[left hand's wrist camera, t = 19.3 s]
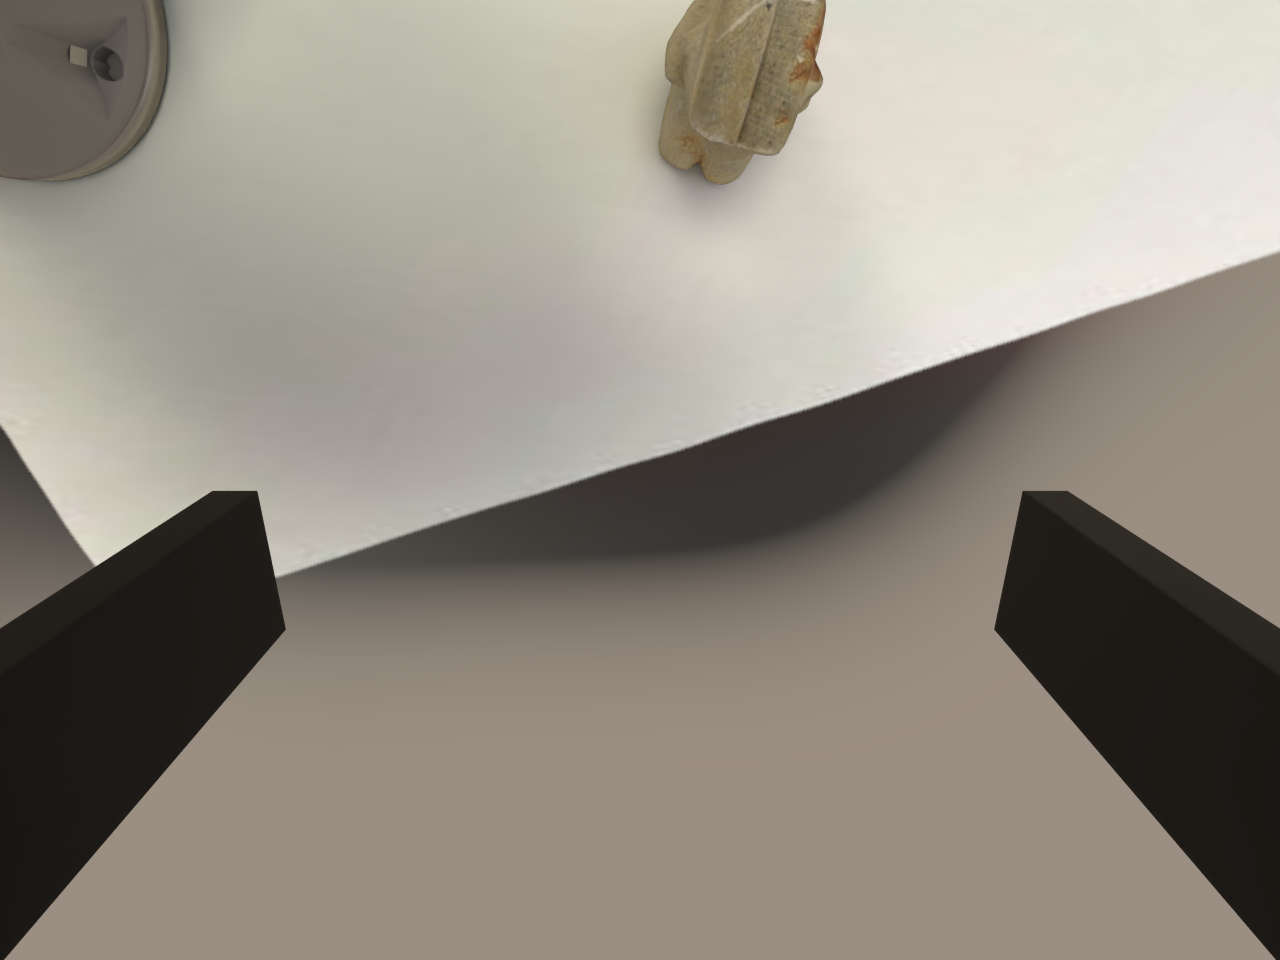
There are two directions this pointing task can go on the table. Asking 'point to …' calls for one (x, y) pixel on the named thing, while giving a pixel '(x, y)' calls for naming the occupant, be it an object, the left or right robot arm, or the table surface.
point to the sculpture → (738, 81)
